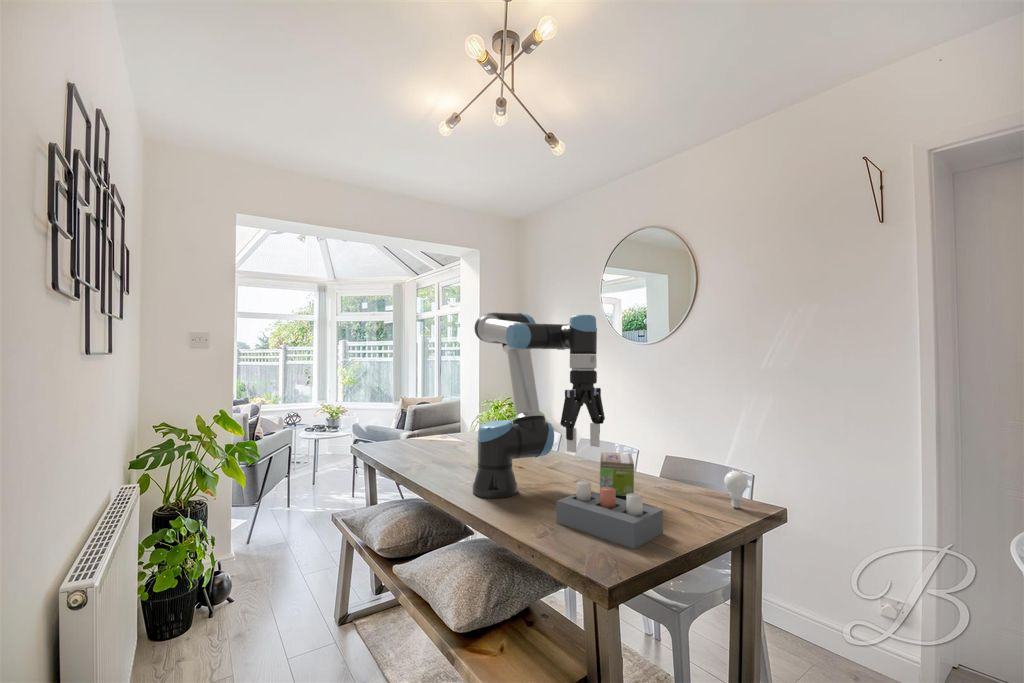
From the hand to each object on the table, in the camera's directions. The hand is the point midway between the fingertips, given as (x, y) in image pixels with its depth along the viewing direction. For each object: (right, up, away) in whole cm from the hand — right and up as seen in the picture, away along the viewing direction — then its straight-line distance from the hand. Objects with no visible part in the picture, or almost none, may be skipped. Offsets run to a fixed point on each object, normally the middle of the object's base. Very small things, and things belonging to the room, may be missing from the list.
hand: (583, 448), depth 127 cm
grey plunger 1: (0, -15, -1) cm, 15 cm away
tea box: (+12, -20, +12) cm, 27 cm away
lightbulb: (+47, -20, +9) cm, 52 cm away
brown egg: (+6, -15, -6) cm, 17 cm away
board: (+6, -19, -6) cm, 21 cm away
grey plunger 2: (+11, -15, -12) cm, 22 cm away
